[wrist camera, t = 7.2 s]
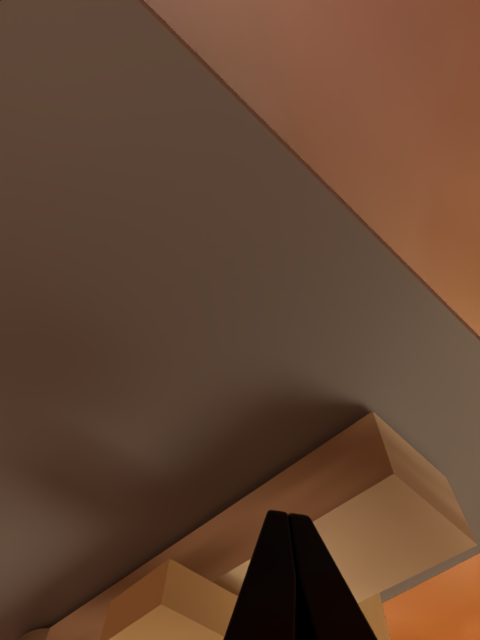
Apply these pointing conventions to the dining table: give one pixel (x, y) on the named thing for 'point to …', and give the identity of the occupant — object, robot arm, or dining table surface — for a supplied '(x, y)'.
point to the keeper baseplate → (182, 323)
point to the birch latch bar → (321, 522)
